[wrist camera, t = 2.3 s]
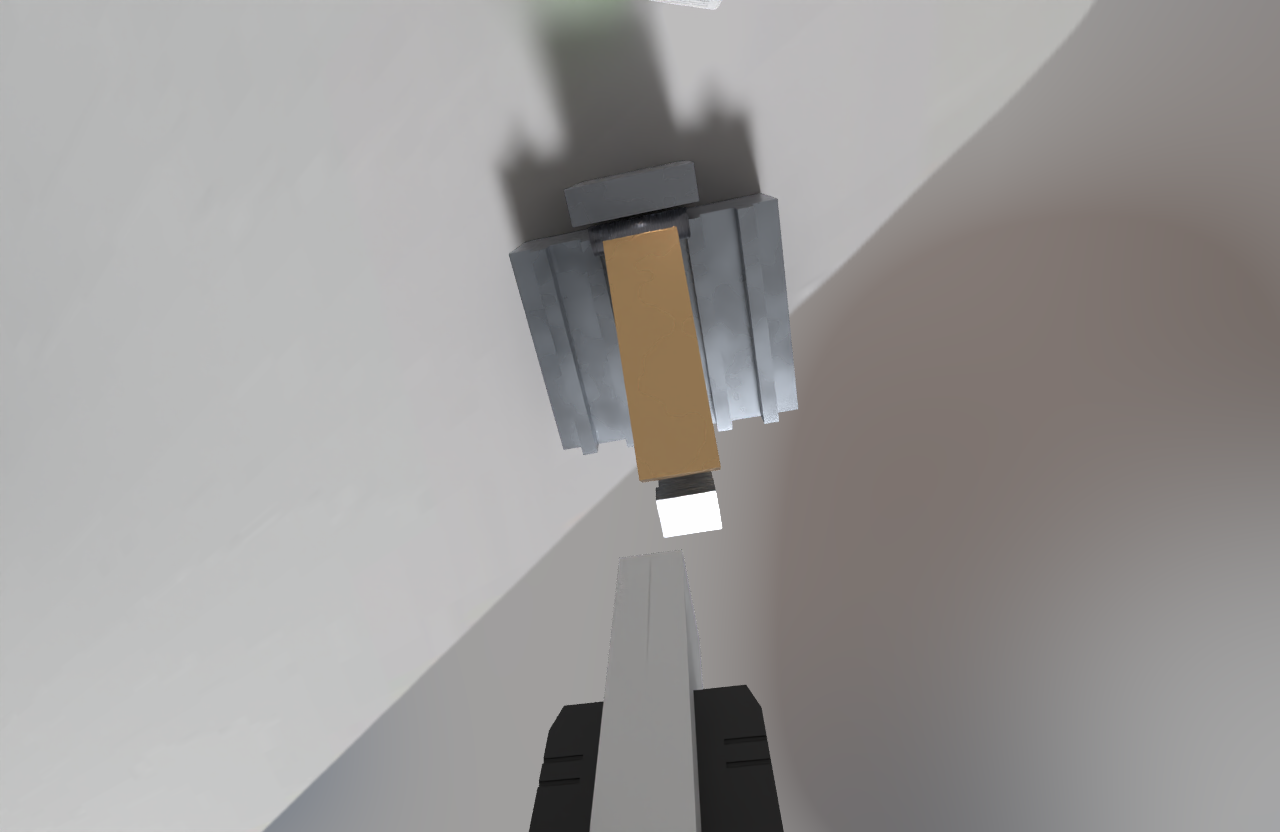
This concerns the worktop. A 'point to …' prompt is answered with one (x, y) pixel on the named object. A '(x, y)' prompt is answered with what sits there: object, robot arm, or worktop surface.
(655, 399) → the strap
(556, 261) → the heatsink
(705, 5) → the ink box
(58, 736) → the worktop surface
